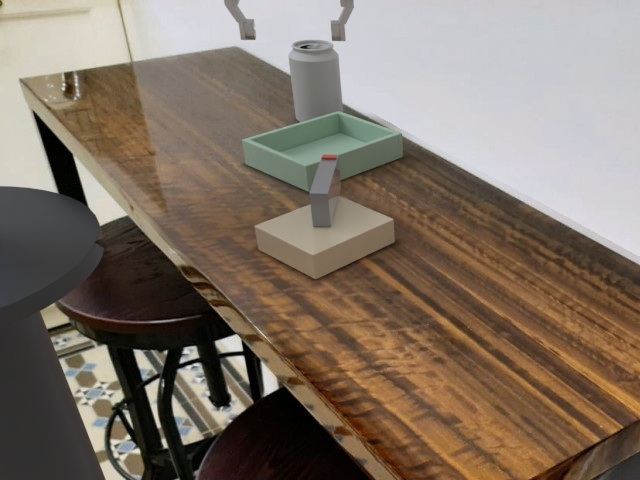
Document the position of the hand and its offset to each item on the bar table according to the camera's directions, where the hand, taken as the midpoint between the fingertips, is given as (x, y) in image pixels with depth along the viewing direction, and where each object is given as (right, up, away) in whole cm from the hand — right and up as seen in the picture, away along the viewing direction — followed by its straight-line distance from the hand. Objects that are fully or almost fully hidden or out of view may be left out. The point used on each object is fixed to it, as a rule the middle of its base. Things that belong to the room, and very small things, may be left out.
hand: (294, 39), depth 80 cm
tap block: (+2, -21, +6) cm, 22 cm away
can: (-6, +4, +39) cm, 40 cm away
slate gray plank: (+2, -16, +8) cm, 18 cm away
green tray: (-3, -6, +27) cm, 27 cm away
